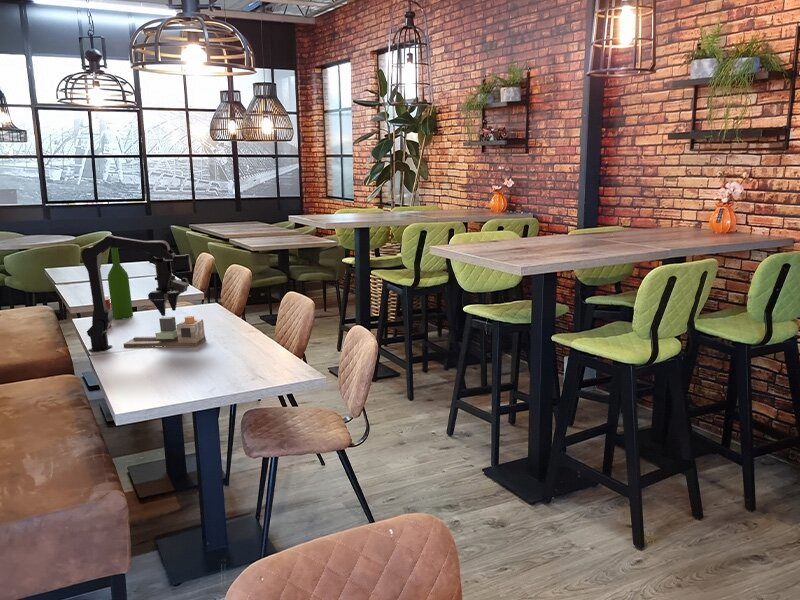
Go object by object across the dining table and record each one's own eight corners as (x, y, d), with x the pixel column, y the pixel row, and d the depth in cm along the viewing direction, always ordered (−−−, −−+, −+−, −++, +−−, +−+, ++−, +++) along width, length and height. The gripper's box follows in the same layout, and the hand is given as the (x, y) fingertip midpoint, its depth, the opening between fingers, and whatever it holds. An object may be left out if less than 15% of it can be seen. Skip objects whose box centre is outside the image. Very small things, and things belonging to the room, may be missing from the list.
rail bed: (195, 346, 257) (193, 325, 256) (123, 347, 261) (121, 326, 259) (205, 339, 267) (203, 319, 265) (136, 340, 270) (133, 320, 269)
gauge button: (193, 330, 260) (192, 318, 259) (184, 330, 260) (183, 318, 259) (197, 328, 263) (195, 316, 262) (188, 328, 264) (186, 316, 262)
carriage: (173, 338, 259) (171, 320, 257) (156, 338, 260) (153, 320, 258) (182, 333, 267) (180, 315, 265) (165, 333, 267) (163, 315, 266)
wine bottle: (137, 315, 318) (129, 247, 312) (124, 319, 310) (116, 249, 303) (121, 314, 321) (112, 247, 314) (108, 319, 312) (99, 249, 306)
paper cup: (117, 325, 299) (113, 294, 296) (108, 329, 291) (104, 298, 289) (100, 325, 300) (96, 294, 297) (91, 329, 292) (87, 298, 289)
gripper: (173, 277, 248) (178, 318, 251) (194, 269, 266) (198, 307, 269) (145, 278, 249) (150, 319, 252) (167, 270, 267) (171, 308, 271)
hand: (168, 313), depth 261 cm, fingers open, 9 cm apart
